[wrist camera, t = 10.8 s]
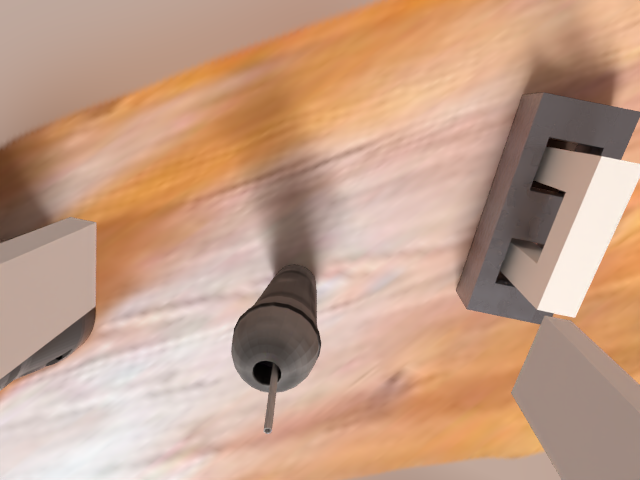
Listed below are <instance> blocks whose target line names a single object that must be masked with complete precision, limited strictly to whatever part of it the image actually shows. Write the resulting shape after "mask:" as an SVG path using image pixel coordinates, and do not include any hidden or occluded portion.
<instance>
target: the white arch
mask: <svg viewBox="0 0 640 480" xmlns="http://www.w3.org/2000/svg"><path fill="white" fill-rule="evenodd" d="M639 178H640V164H638V163H633V162H628V161H623V160H618V159H613V158H608V157H603V156H597V155H592V154H586V153H580V152H574V151H568V150H563V149H557V148H551V147H545V150H544V153H543V155H542V158H541V161H540V164H539V166H538V169H537V172H536V174H535V177H534V181H537V182H540V183H543V184H545V185H548V186H551V187H553V188H556V189H559V190H562V191H564V192H566V193H565V196H564V198H563V201H562V203H561V205H560V208H559V210H558V213H557V215H556V218H555V220H554V223H553V225H552V228H551V230H550V233H549V235H548V238H547V240H546V243H545V245H544V248H543V249H542V248H540V247H539V246H537V245H536V244H535V243H533V242H530V241H525V240H520V239H515V238H512V239H511V241H510V244H509V247H508V249H507V252H506V255H505V258H504V260H503V263H502V266H501V268H500V271H501V272H502V273H503V274H504V276H505V277H506V278H507V279H508V280H509V281H510V282H511V283H512V284H513V285H514V286H515V287H516V288H517V289H518V290H519V291H520V292H521V293H522V295H523V296H524V297H525V298H526V299H527V300H528V301H529V302H530V303H531V304H532V305H533V306H534V307H535V308H536V309H537V310H540V311H545V312H550V313H555V314H560V315H564V316H569V317H574V318H575V316H576V314H577V312H578V310H579V308H580V306H581V303H582V301H583V299H584V297H585V295H586V293H587V290H588V288H589V286H590V284H591V282H592V280H593V277H594V275H595V273H596V271H597V269H598V267H599V264H600V262H601V260H602V258H603V256H604V253H605V251H606V249H607V247H608V245H609V243H610V240H611V238H612V236H613V234H614V232H615V230H616V227H617V225H618V223H619V221H620V219H621V217H622V214H623V212H624V210H625V208H626V206H627V204H628V201H629V199H630V197H631V195H632V193H633V191H634V188H635V186H636V184H637V182H638V180H639Z"/></svg>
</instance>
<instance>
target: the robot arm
mask: <svg viewBox="0 0 640 480" xmlns="http://www.w3.org/2000/svg"><path fill="white" fill-rule="evenodd" d="M95 306H96V222H92V221H87V220H82V219H77V218H72V217H69V218H67V219H64V220H61V221H59V222H56V223H53V224H51V225H48V226H45V227H42V228H40V229H37V230H34V231H32V232H29V233H26V234H24V235H21V236H18V237H16V238H13V239H10V240H6V241H1V242H0V390H2V389H3V388H4V387H5V386H7V385H8V384H9V383H11V382H12V381H13V380H15V379H17V378H20V377H22V376H25V375H27V374H30V373H32V372H35V371H37V370H39V369H42V368H44V367H45V366H49V365H52V364H55V363H57V362H59V361H61V360H63V359H65V358H66V357H68V356H69V355H70V354H72V353H73V352H74V351H75V350H76V349H78V348H79V347H80V346H81V345H82V344H83V343H84V342H85V341H86V340H87V338H88V337H89V335H90V333H91V331H92V329H93V325H94V320H95ZM511 394H512V395H513V397H514V399H515V400H516V402H517V404H518V406H519V407H520V409H521V411H522V412H523V414H524V416H525V418H526V419H527V421H528V423H529V424H530V426H531V428H532V430H533V431H534V433H535V435H536V436H537V438H538V440H539V442H540V443H541V445H542V447H543V448H544V450H545V452H546V454H547V455H548V457H549V459H550V460H551V462H552V464H553V465H554V467H555V469H556V471H557V472H558V474H559V476H560V478H561V479H562V480H640V385H639V384H638V383H637V382H636V381H635V380H634V379H633V378H632V377H631V376H630V375H629V374H627V373H626V372H625V371H624V370H623V369H622V368H621V367H620V366H619V365H618V364H617V363H616V362H615V361H613V360H612V359H611V358H610V357H609V356H608V355H607V354H606V353H605V352H604V351H603V350H602V349H601V348H600V347H598V346H597V345H596V344H595V343H594V342H593V341H592V340H591V339H590V338H589V337H588V336H587V335H586V334H585V333H583V332H582V331H581V330H580V329H579V328H578V327H577V326H576V325H575V324H574V323H573V322H572V321H569V320H564V319H560V318H555V317H550V316H544V318H543V320H542V323H541V325H540V327H539V330H538V332H537V334H536V336H535V339H534V341H533V343H532V346H531V348H530V350H529V353H528V355H527V357H526V360H525V362H524V364H523V367H522V369H521V371H520V373H519V376H518V378H517V380H516V383H515V385H514V387H513V390H512V392H511Z"/></svg>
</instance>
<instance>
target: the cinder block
mask: <svg viewBox="0 0 640 480" xmlns="http://www.w3.org/2000/svg"><path fill="white" fill-rule="evenodd" d="M639 117H640V112H638V111H633V110H628V109H623V108H618V107H613V106H608V105H603V104H598V103H593V102H588V101H583V100H578V99H573V98H568V97H564V96H559V95H554V94H549V93H544V92H543V93H534V94H525V95H522V98H521V101H520V104H519V107H518V110H517V113H516V116H515V119H514V122H513V125H512V128H511V131H510V134H509V136H508V139H507V142H506V145H505V148H504V151H503V154H502V157H501V160H500V163H499V166H498V169H497V172H496V175H495V178H494V181H493V184H492V187H491V190H490V193H489V195H488V198H487V201H486V204H485V207H484V210H483V213H482V216H481V219H480V222H479V225H478V228H477V231H476V234H475V237H474V240H473V243H472V246H471V249H470V252H469V254H468V257H467V260H466V263H465V266H464V269H463V272H462V275H461V278H460V281H459V284H458V287H457V290H456V292H457V294H458V295H459V297H460V299H461V300H462V302H463V304H464V305H465V307H466V309H469V310H473V311H478V312H483V313H488V314H493V315H497V316H502V317H507V318H512V319H517V320H522V321H526V322H531V323H536V324H541V323H542V320H543V318H544V316H550V317H552V316H553V314H554V313H550V312H545V311H540V310H537V309H536V308H535V307H534V306H533V305H532V304H531V303H530V302H529V301H528V300H527V299H526V298H525V297H524V296H523V295H522V293H521V292H520V291H519V290H518V289H517V288H516V287H515V286H514V285H513V284H512V283H511V282H510V281H509V280H508V279H507V278H506V277H505V276H504V274H503V273H502V272H501V271H500V268H501V266H502V263H503V260H504V258H505V255H506V252H507V249H508V247H509V244H510V241H511V239H512V238H515V239H520V240H525V241H530V242H535V243H538V245H537V246H539V247H540V248H542V249H543V248H544V245H545V243H546V240H547V238H548V235H549V233H550V230H551V228H552V225H553V223H554V220H555V218H556V215H557V213H558V210H559V208H560V205H561V203H562V201H563V198H564V196H565V193H566V192H564V191H562V190H559V192H554V191H549V190H544V189H539V188H534V187H531V185H532V182H533V180H534V177H535V174H536V172H537V169H538V166H539V164H540V161H541V158H542V155H543V153H544V150H545V147H546V145H547V142H548V139H553V140H558V141H563V142H568V143H573V144H577V146H576V149H575V151H574V152H580V153H586V154H592V155H597V156H603V157H608V158H613V159H618V160H621V158H622V156H623V154H624V152H625V149H626V147H627V145H628V143H629V140H630V138H631V136H632V133H633V131H634V129H635V127H636V124H637V122H638V120H639Z"/></svg>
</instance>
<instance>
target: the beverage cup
mask: <svg viewBox="0 0 640 480" xmlns="http://www.w3.org/2000/svg"><path fill="white" fill-rule="evenodd" d="M320 348H321V340H320V335H319V331H318V328H317V290H316V282H315V278H314V276H313V274H312V273H311V272H310V271H309V270H308V269H307V268H305V267H303V266H300V265H289V266H286V267H284V268H283V269H281V270H280V271H279V272H278V274H277V275H276V276H275V277H274V278H273V280H272V281H271V282H270V284H269V285H268V287H267V288H266V289H265V291H264V292H263V294H262V295H261V296H260V298H259V299H258V300H257V302H256V303H255V305H254V306H252V307H251V308H250V309H248V310H247V311H246V312H245V313H244V314H243V315H242V316H241V317H240V318H239V320H238V322H237V324H236V326H235V328H234V335H233V341H232V351H231V352H232V358H233V361H234V365H235V368H236V370H237V372H238V373H239V375H240V376H241V378H242V379H243V380H244V381H245V382H247V383H248V384H249V385H250V386H251V387H253V388H255V389H257V390H260V391H263V392H269V395H268V403H267V410H266V418H265V425H264V432H265V433H267V434H269V433H271V431H272V424H273V415H274V406H275V398H276V392H284V391H286V390H289V389H291V388H294V387H295V386H297V385H298V384H299V383H301V382H302V381H303V380H304V379H305V378H306V377H307V376H308V375H309V373H310V371H311V370H312V368H313V366H314V364H315V363H316V360H317V358H318V357H319V353H320Z"/></svg>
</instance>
